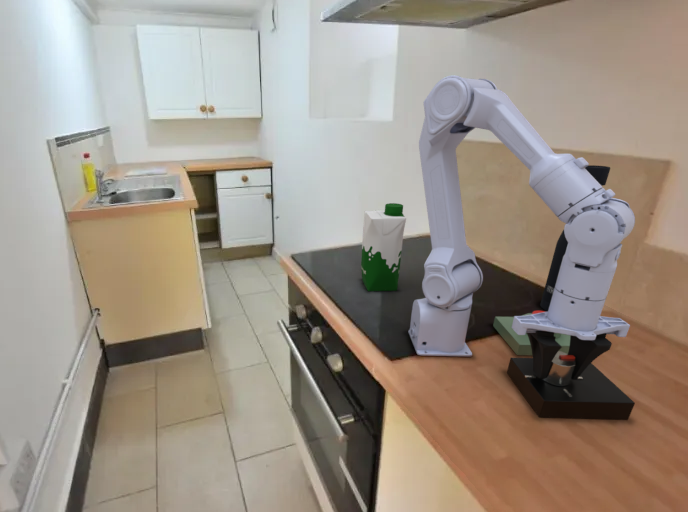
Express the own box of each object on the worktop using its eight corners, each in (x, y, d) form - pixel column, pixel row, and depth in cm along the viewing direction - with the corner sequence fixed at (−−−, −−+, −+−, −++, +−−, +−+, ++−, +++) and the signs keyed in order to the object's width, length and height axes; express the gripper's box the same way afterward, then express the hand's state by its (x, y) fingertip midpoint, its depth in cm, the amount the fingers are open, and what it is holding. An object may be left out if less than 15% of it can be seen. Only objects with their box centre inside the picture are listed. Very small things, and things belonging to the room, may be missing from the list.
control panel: (538, 417, 53) (543, 399, 51) (506, 372, 62) (509, 356, 61) (628, 420, 52) (635, 402, 51) (581, 374, 61) (587, 358, 60)
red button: (536, 328, 68) (538, 319, 67) (526, 318, 71) (528, 310, 70) (557, 328, 68) (559, 320, 67) (546, 318, 71) (548, 310, 70)
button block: (516, 355, 66) (521, 335, 65) (492, 326, 76) (496, 308, 74) (587, 356, 66) (593, 337, 64) (554, 327, 75) (559, 309, 74)
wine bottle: (577, 308, 82) (621, 166, 71) (571, 318, 78) (616, 169, 67) (544, 299, 87) (580, 163, 75) (536, 308, 82) (574, 166, 71)
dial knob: (547, 386, 54) (554, 364, 53) (532, 368, 58) (538, 347, 56) (576, 386, 54) (583, 364, 53) (559, 369, 58) (566, 348, 56)
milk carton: (401, 292, 90) (410, 209, 82) (364, 293, 90) (369, 210, 82) (391, 277, 98) (398, 200, 91) (357, 278, 98) (361, 201, 90)
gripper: (540, 304, 47) (517, 391, 52) (660, 306, 47) (625, 394, 52) (513, 281, 54) (495, 361, 59) (619, 283, 53) (591, 363, 58)
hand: (554, 375), depth 56 cm, fingers closed on dial knob, 4 cm apart
